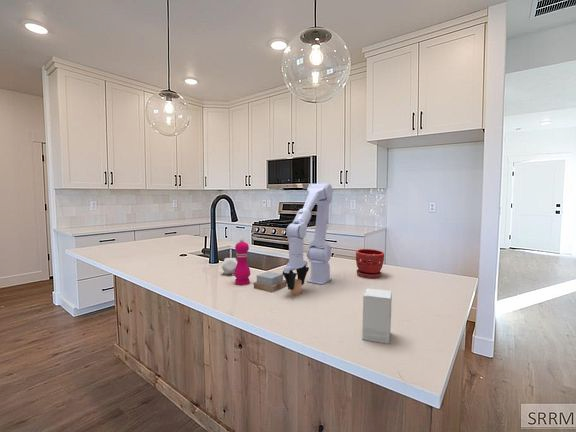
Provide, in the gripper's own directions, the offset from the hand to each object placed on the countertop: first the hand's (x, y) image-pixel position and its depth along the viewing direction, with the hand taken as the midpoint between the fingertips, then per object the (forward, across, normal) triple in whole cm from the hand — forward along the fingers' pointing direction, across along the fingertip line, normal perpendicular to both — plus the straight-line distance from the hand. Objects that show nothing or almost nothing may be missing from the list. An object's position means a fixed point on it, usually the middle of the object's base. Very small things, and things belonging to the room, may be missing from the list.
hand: (296, 286), depth 126 cm
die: (+3, -6, -42) cm, 43 cm away
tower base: (+3, 0, -13) cm, 13 cm away
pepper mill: (+3, +2, -27) cm, 27 cm away
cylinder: (+2, 0, 0) cm, 3 cm away
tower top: (0, 0, -13) cm, 13 cm away
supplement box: (+3, +19, +39) cm, 43 cm away
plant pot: (+2, -41, +16) cm, 44 cm away
